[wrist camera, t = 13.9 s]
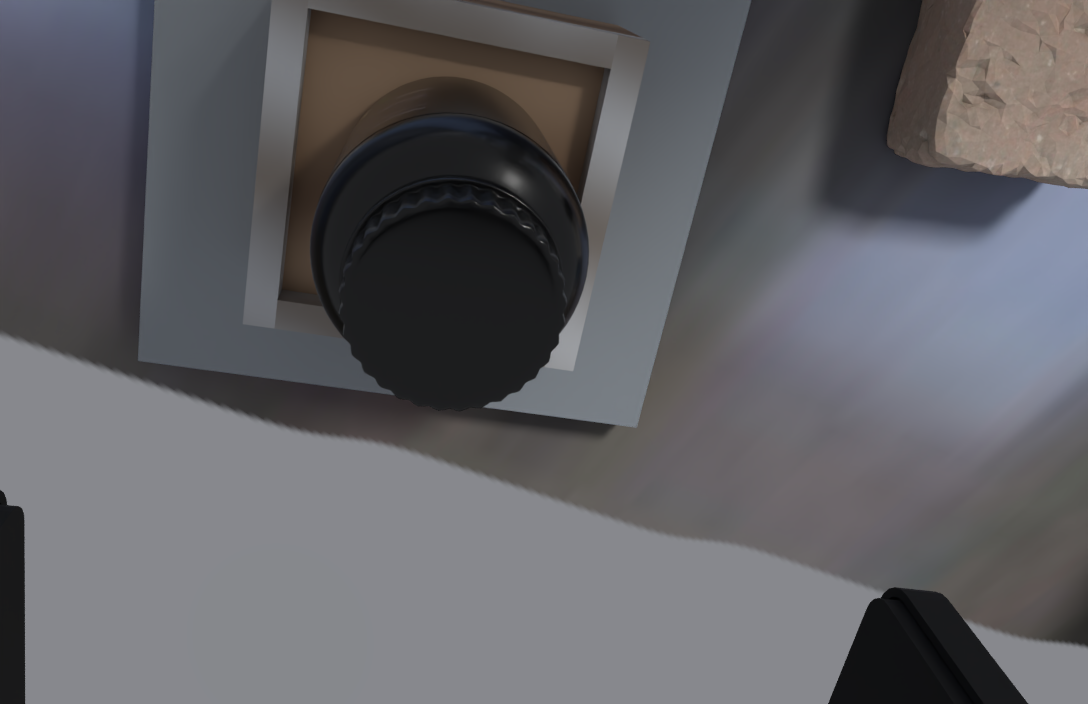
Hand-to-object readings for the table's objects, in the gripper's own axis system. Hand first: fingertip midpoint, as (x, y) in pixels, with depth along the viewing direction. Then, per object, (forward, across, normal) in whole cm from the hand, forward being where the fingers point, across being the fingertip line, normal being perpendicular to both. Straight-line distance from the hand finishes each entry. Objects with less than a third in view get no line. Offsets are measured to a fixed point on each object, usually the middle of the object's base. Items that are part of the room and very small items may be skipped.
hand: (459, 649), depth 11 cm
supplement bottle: (+22, 0, 0) cm, 22 cm away
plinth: (+27, 0, 0) cm, 27 cm away
